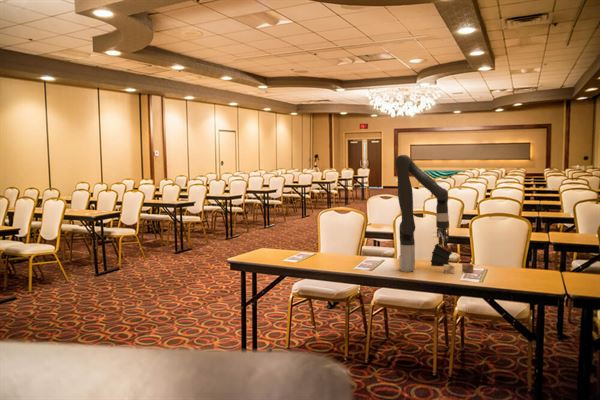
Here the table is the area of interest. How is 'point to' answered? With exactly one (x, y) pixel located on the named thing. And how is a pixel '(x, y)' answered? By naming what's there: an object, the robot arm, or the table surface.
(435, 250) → the black ridged slab
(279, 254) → the table surface
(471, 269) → the walnut block
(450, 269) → the maple block
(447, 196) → the robot arm
